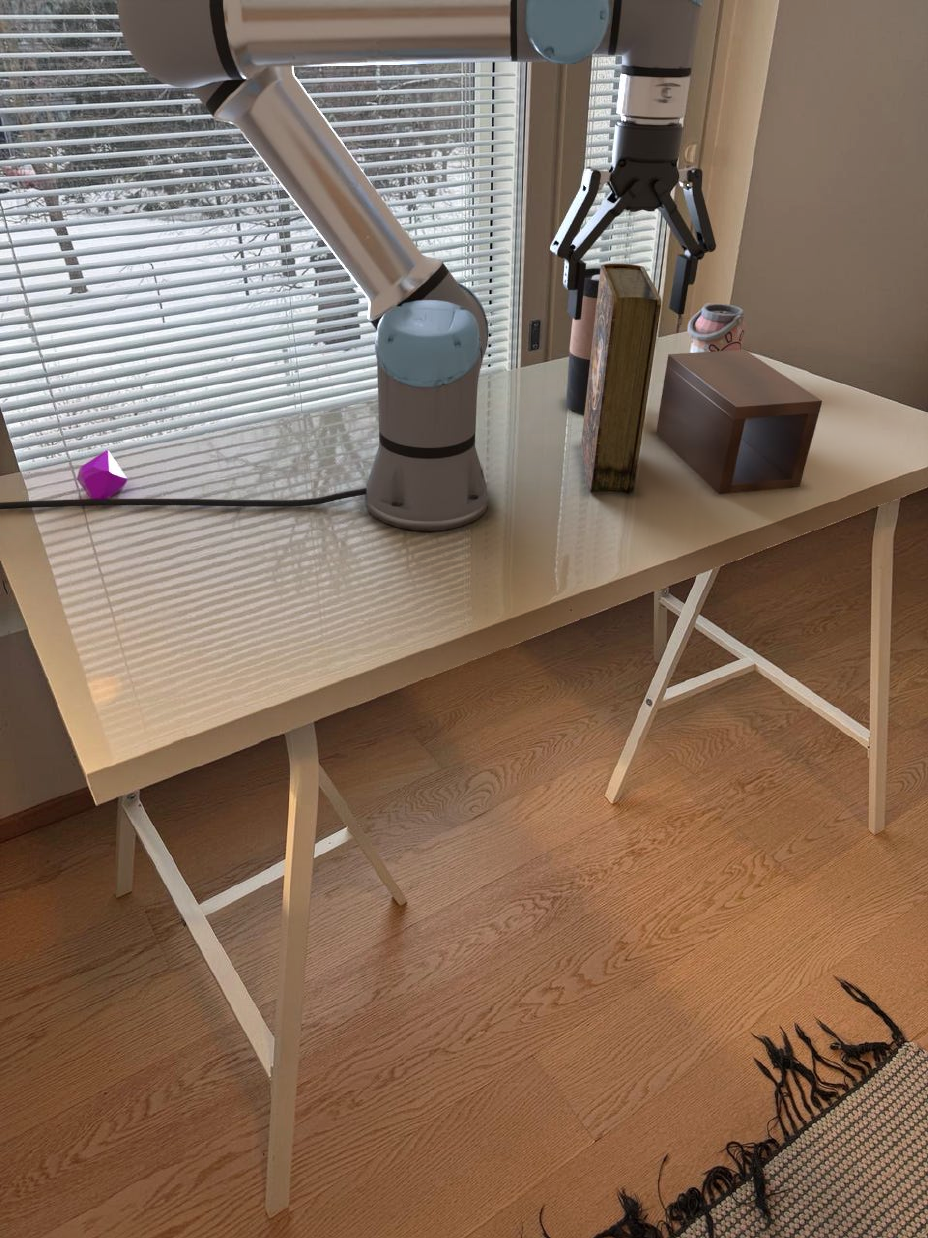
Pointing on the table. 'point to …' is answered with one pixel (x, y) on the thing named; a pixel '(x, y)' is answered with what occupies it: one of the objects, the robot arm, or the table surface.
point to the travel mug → (582, 344)
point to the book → (619, 376)
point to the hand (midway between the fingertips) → (625, 314)
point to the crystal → (101, 477)
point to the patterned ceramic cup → (717, 328)
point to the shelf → (736, 420)
